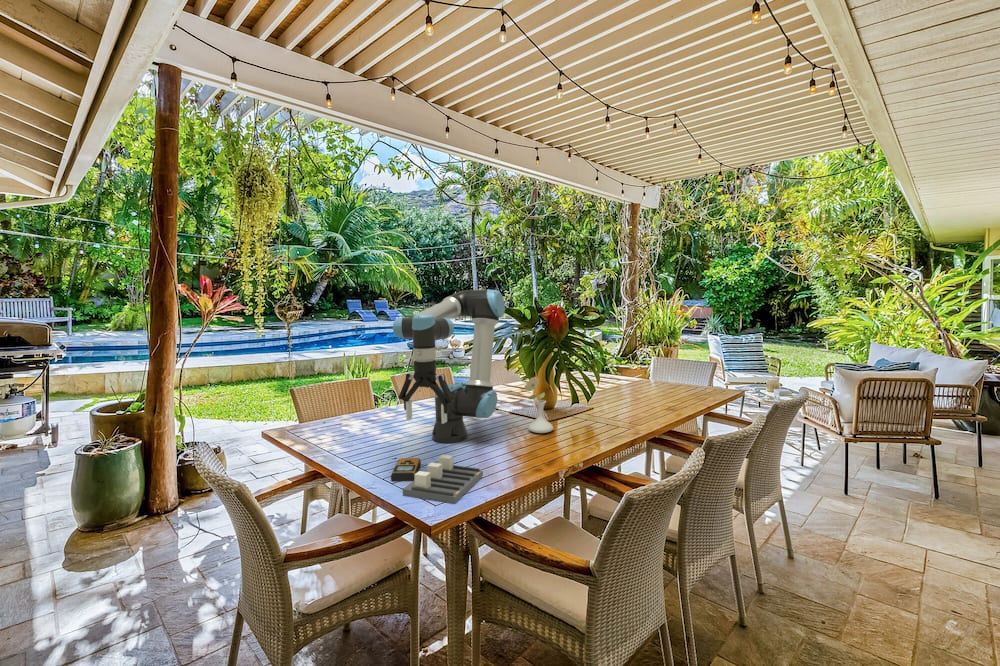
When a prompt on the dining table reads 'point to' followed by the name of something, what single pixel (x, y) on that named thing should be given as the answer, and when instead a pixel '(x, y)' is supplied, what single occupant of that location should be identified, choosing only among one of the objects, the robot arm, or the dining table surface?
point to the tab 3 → (446, 462)
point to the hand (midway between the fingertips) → (426, 420)
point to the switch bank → (447, 485)
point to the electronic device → (406, 469)
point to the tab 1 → (423, 479)
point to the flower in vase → (540, 423)
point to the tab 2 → (435, 470)
